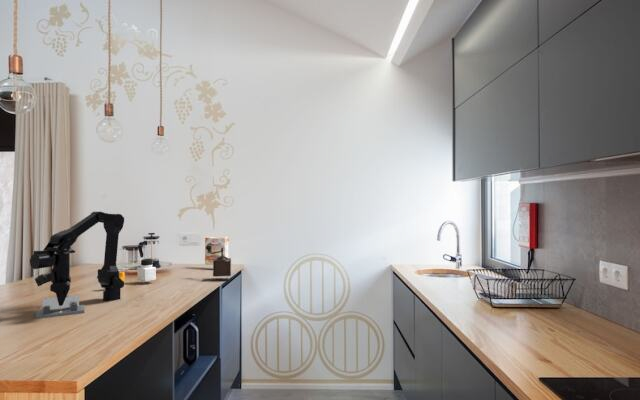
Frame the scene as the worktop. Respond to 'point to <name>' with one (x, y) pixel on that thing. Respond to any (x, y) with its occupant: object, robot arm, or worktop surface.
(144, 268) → the medicine bottle
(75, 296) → the shiny metal block
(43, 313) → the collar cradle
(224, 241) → the coffeecake box
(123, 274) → the pipe clamp
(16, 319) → the worktop surface
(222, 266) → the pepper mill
